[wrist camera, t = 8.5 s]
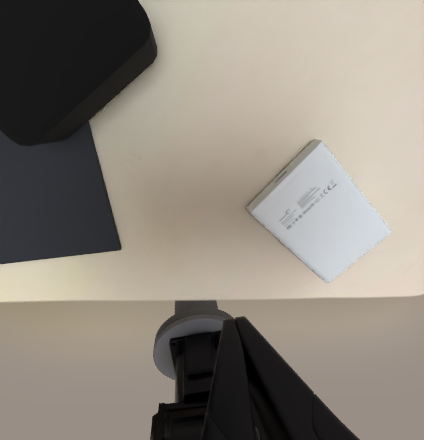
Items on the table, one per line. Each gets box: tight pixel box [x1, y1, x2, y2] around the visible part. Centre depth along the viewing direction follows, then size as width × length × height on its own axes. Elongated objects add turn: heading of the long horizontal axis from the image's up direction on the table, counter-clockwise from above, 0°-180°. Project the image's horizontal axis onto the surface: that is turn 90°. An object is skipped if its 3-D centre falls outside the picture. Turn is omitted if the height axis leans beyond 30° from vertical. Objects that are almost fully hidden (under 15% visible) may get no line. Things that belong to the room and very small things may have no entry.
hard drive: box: [246, 140, 391, 283], centre depth 22 cm, size 2×8×12 cm
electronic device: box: [0, 0, 157, 146], centre depth 12 cm, size 4×10×10 cm
